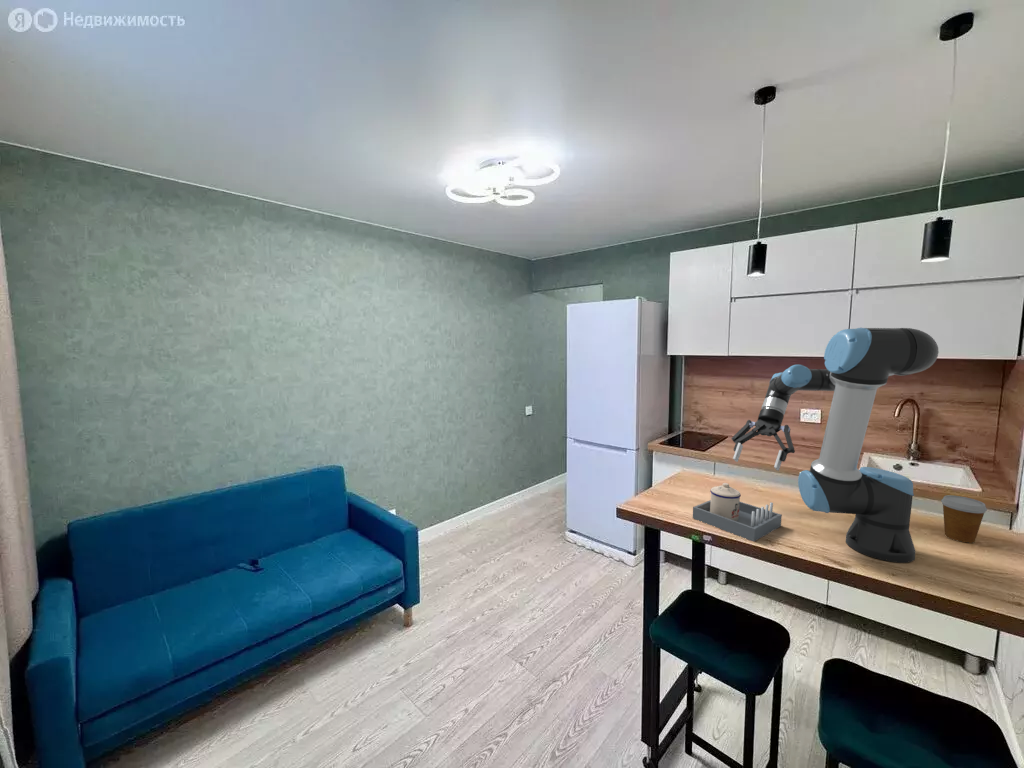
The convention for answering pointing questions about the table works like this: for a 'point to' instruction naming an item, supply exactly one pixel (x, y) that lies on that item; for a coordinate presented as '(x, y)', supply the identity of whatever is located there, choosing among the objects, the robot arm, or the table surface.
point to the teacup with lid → (725, 501)
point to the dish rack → (741, 520)
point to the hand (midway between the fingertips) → (755, 464)
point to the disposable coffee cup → (962, 517)
